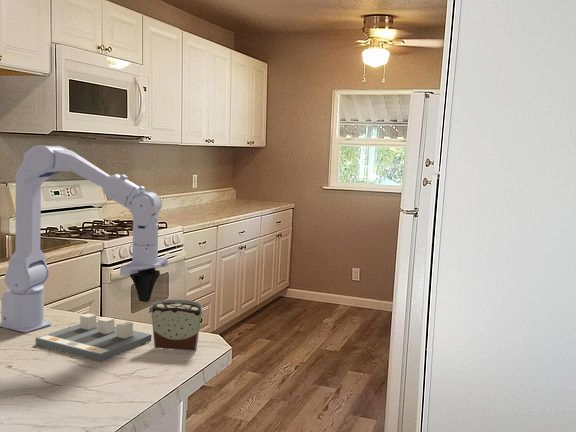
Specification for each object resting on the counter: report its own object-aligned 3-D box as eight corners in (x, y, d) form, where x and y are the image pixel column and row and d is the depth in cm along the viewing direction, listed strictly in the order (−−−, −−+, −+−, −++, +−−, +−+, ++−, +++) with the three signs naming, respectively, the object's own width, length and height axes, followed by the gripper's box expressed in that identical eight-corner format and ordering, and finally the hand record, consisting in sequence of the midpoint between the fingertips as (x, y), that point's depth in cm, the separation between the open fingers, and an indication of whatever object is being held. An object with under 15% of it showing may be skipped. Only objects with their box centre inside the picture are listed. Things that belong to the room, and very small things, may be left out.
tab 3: (116, 336, 133) (116, 323, 133) (124, 333, 136) (124, 321, 135) (125, 338, 132) (125, 325, 132) (132, 335, 134) (132, 322, 134)
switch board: (35, 344, 130) (35, 337, 130) (89, 326, 145) (89, 320, 144) (101, 361, 122) (101, 354, 122) (151, 340, 136) (151, 334, 136)
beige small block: (80, 328, 138) (80, 315, 138) (88, 325, 140) (88, 313, 140) (88, 330, 137) (88, 317, 137) (96, 327, 139) (96, 314, 139)
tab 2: (98, 332, 136) (98, 319, 135) (105, 329, 138) (105, 317, 138) (106, 334, 135) (106, 321, 134) (114, 331, 137) (114, 318, 137)
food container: (208, 343, 137) (210, 301, 136) (202, 352, 131) (203, 308, 129) (156, 339, 138) (157, 297, 137) (147, 347, 132) (148, 304, 131)
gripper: (138, 249, 129) (137, 310, 131) (178, 241, 142) (176, 297, 144) (113, 246, 132) (112, 305, 134) (154, 238, 145) (153, 293, 147)
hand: (144, 301), depth 139 cm, fingers closed
